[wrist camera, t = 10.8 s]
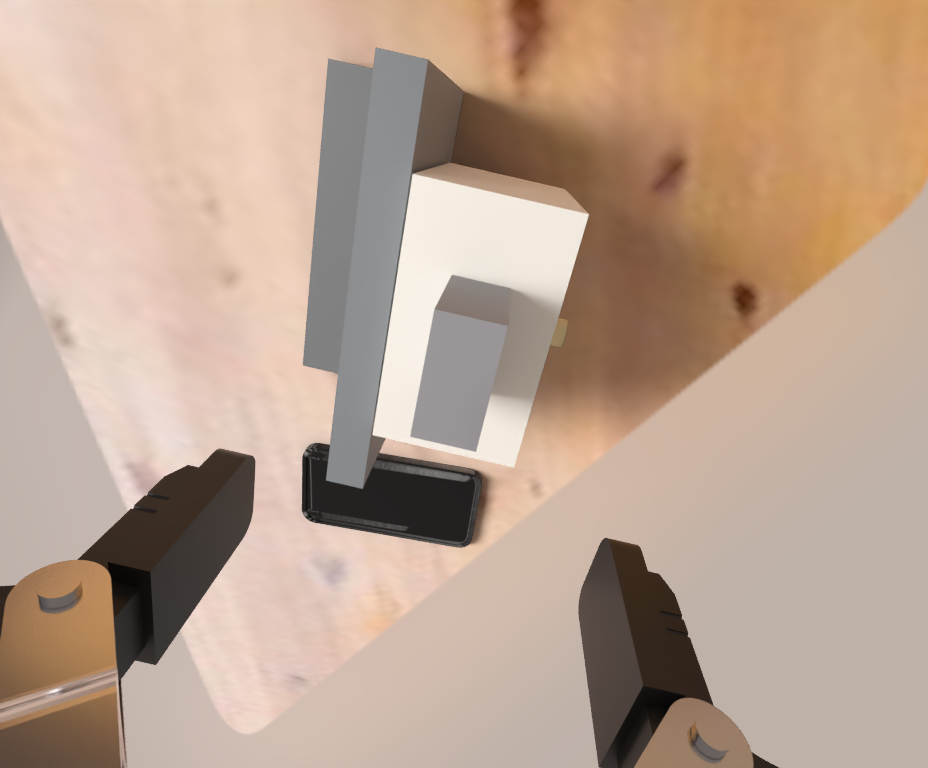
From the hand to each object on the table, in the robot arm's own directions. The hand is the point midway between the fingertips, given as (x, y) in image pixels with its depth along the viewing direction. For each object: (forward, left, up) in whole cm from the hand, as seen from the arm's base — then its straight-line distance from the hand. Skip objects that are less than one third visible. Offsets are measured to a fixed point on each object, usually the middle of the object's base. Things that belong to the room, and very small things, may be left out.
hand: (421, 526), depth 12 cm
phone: (-4, -21, -28) cm, 35 cm away
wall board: (-5, 0, -27) cm, 28 cm away
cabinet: (0, 0, -24) cm, 24 cm away
